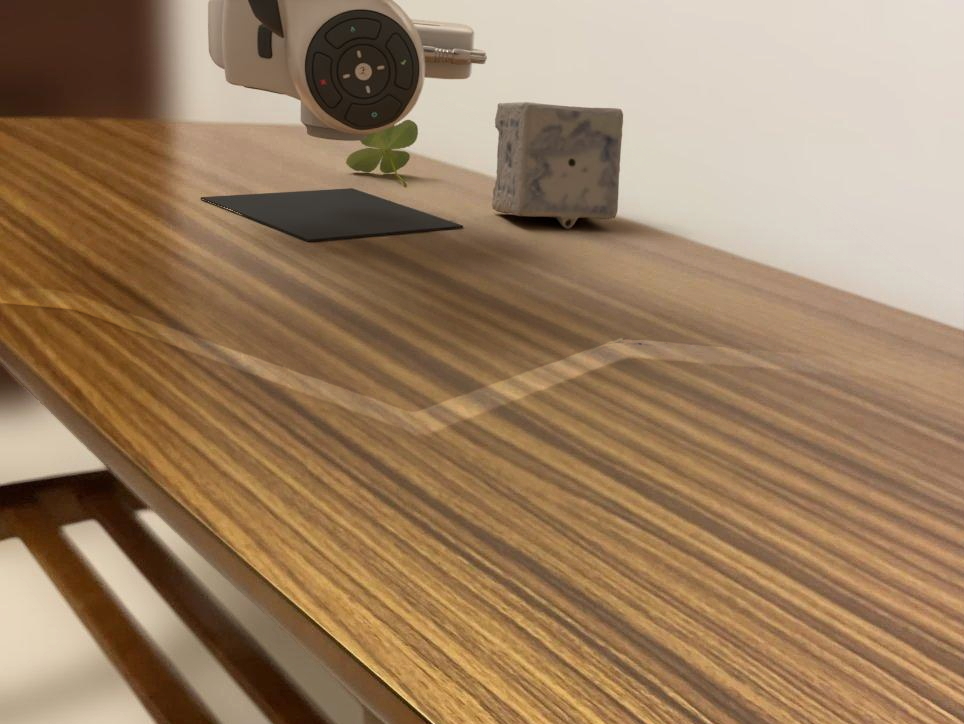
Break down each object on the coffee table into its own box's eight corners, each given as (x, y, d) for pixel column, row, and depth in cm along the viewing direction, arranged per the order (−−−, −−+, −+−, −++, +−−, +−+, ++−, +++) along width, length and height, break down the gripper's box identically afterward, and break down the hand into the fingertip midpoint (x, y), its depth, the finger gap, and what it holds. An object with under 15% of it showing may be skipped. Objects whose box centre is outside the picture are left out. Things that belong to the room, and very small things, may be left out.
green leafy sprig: (385, 229, 125) (365, 184, 127) (452, 187, 123) (430, 142, 126) (350, 191, 118) (330, 144, 121) (420, 146, 117) (398, 99, 120)
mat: (308, 242, 96) (308, 239, 96) (200, 199, 106) (200, 197, 106) (463, 227, 106) (463, 225, 106) (352, 190, 116) (352, 188, 116)
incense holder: (581, 211, 119) (594, 98, 114) (617, 231, 112) (632, 111, 107) (485, 208, 115) (494, 91, 110) (516, 229, 108) (528, 104, 104)
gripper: (494, 14, 89) (467, 3, 101) (202, -15, 85) (210, -23, 97) (487, 105, 92) (462, 84, 104) (203, 82, 88) (211, 62, 100)
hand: (338, 32), depth 100 cm, fingers closed on energy drink can, 6 cm apart
